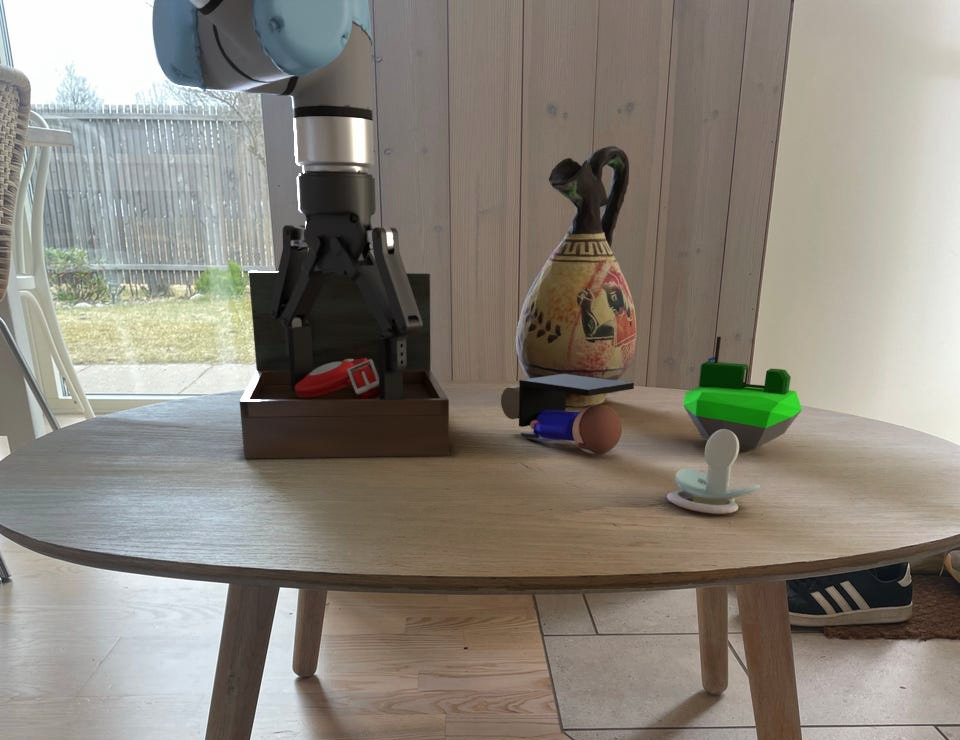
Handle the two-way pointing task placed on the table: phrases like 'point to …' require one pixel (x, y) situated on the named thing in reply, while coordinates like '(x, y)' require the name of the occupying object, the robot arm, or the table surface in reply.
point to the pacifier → (711, 478)
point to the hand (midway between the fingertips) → (345, 396)
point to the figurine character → (547, 417)
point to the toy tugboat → (741, 403)
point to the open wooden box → (341, 414)
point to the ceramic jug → (582, 285)
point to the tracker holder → (340, 379)
